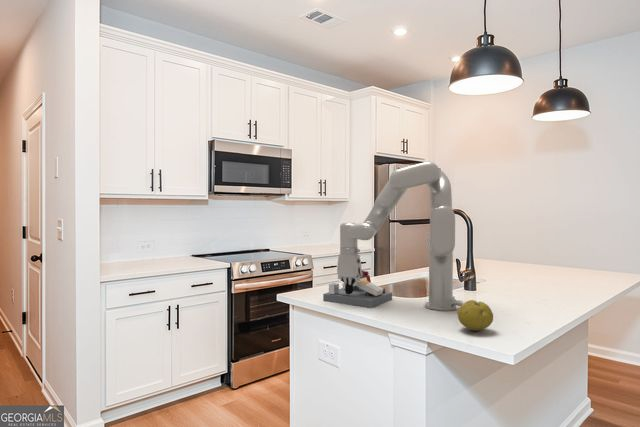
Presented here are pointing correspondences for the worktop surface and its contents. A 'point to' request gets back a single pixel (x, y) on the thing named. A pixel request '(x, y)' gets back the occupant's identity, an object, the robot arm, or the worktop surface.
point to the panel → (358, 297)
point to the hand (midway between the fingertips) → (349, 293)
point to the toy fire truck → (365, 274)
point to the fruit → (475, 315)
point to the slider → (333, 288)
